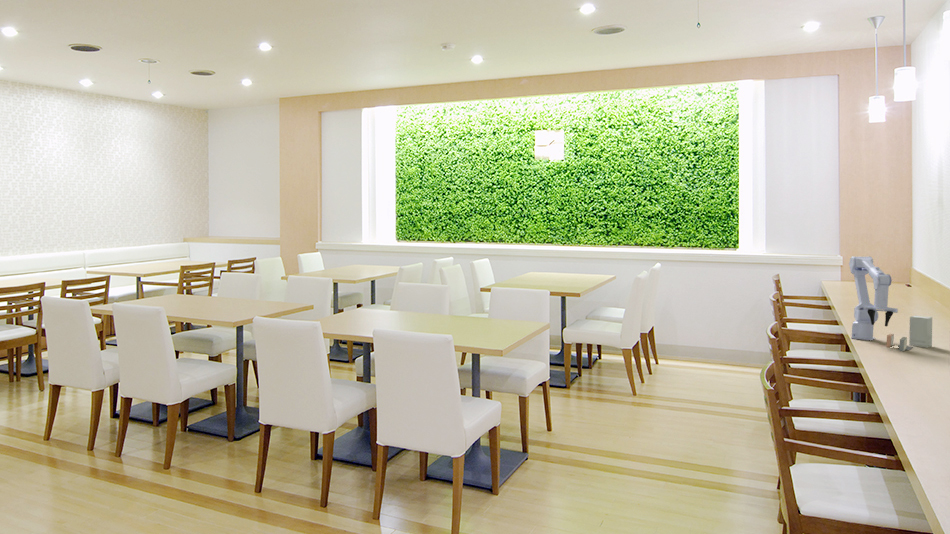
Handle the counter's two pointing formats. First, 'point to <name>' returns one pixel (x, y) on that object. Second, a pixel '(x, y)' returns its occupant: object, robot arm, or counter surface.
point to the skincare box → (920, 331)
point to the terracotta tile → (890, 340)
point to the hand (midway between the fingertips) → (879, 325)
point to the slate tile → (903, 344)
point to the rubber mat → (906, 347)
